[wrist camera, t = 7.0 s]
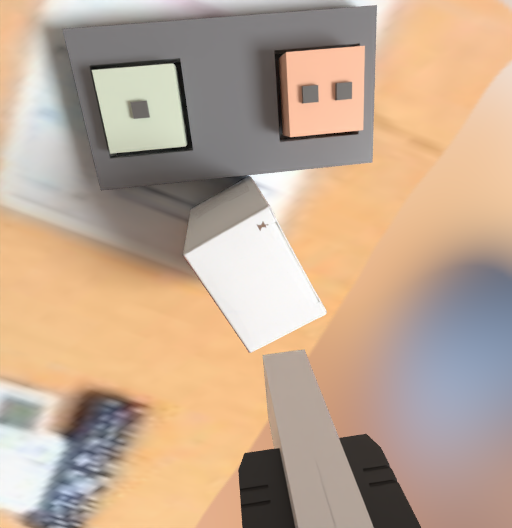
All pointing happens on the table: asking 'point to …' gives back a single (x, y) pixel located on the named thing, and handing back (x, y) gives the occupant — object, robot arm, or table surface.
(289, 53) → the peach rectangular block
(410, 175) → the table surface
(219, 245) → the small box
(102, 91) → the pale green button
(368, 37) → the board
